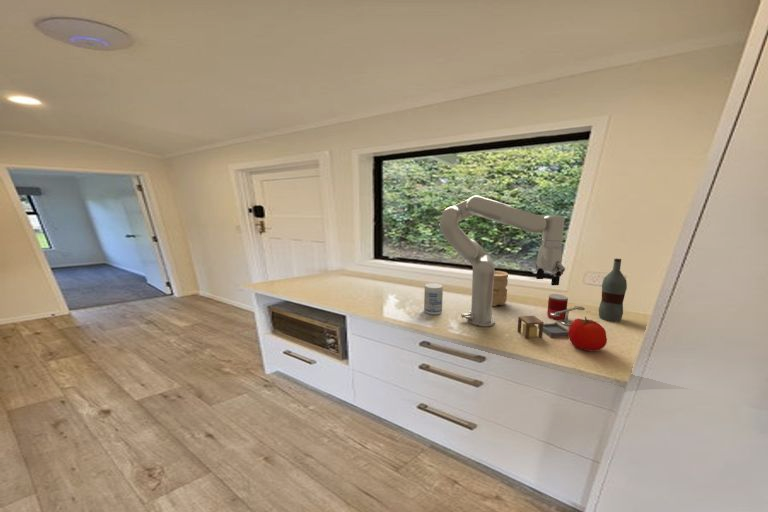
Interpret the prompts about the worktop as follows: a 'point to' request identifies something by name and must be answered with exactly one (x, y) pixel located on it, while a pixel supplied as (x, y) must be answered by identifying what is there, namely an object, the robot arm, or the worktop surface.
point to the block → (532, 330)
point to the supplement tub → (433, 298)
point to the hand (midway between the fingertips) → (547, 281)
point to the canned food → (557, 305)
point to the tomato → (587, 334)
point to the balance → (566, 314)
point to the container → (499, 288)
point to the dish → (554, 330)
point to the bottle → (613, 294)
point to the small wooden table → (530, 321)
